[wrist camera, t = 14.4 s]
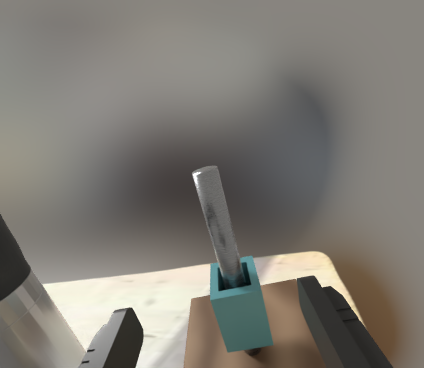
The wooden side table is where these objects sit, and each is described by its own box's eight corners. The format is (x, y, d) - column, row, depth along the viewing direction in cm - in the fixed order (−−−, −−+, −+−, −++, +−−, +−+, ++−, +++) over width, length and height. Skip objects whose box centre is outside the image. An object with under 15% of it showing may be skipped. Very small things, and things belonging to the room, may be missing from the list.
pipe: (243, 358, 25) (189, 177, 18) (240, 336, 28) (192, 169, 20) (264, 354, 25) (218, 170, 18) (259, 333, 28) (218, 163, 20)
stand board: (177, 474, 19) (172, 467, 19) (193, 305, 36) (191, 298, 36) (376, 451, 18) (377, 442, 17) (296, 285, 35) (295, 278, 34)
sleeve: (227, 352, 23) (210, 300, 21) (225, 310, 28) (210, 264, 26) (273, 345, 23) (261, 290, 20) (262, 303, 28) (251, 255, 25)
